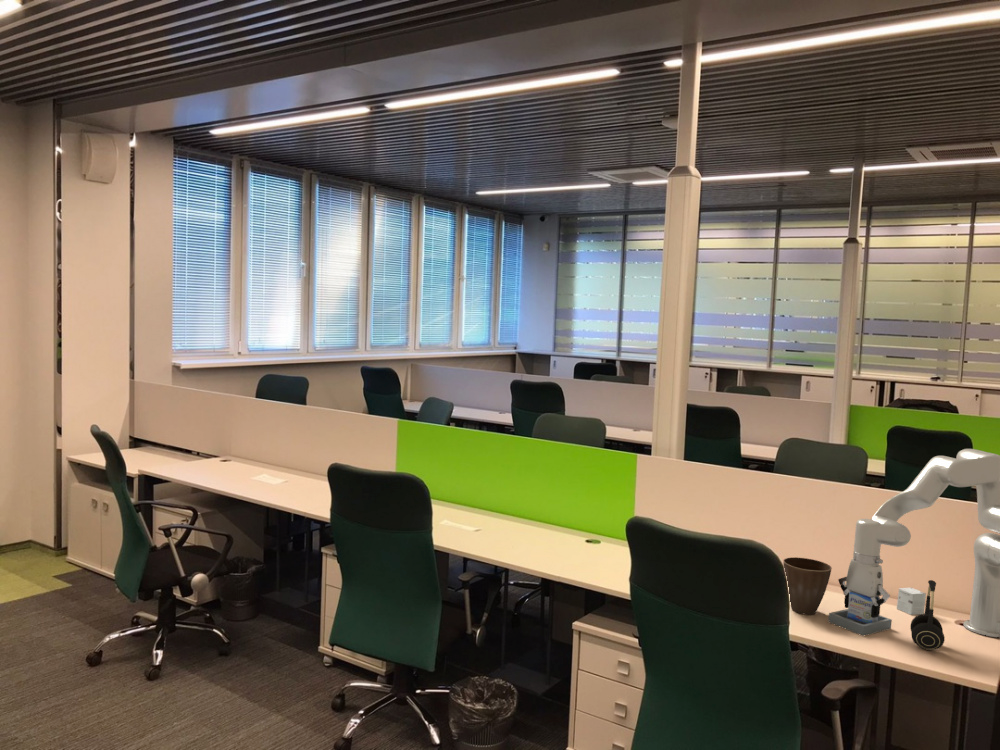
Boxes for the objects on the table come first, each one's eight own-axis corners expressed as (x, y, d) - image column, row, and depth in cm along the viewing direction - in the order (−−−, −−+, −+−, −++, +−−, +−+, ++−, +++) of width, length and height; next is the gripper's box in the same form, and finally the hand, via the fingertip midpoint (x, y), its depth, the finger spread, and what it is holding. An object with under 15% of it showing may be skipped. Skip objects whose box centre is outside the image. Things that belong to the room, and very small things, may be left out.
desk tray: (890, 628, 242) (891, 619, 242) (863, 635, 234) (863, 626, 234) (855, 615, 253) (856, 606, 252) (828, 622, 245) (829, 612, 244)
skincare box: (896, 608, 263) (898, 588, 262) (909, 607, 265) (911, 587, 264) (911, 615, 257) (913, 594, 257) (924, 614, 259) (926, 592, 259)
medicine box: (846, 617, 245) (848, 591, 245) (852, 614, 248) (854, 588, 248) (872, 625, 240) (874, 598, 239) (877, 622, 243) (879, 595, 242)
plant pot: (802, 621, 244) (806, 572, 243) (769, 604, 258) (773, 558, 257) (837, 617, 250) (841, 569, 249) (803, 601, 263) (807, 556, 263)
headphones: (940, 641, 234) (946, 577, 233) (944, 658, 221) (951, 590, 220) (908, 634, 238) (914, 572, 237) (910, 651, 225) (917, 584, 224)
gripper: (899, 565, 237) (894, 619, 238) (848, 550, 252) (843, 601, 253) (885, 567, 233) (880, 623, 234) (834, 552, 248) (829, 604, 249)
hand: (861, 611), depth 243 cm, fingers closed on medicine box, 8 cm apart
